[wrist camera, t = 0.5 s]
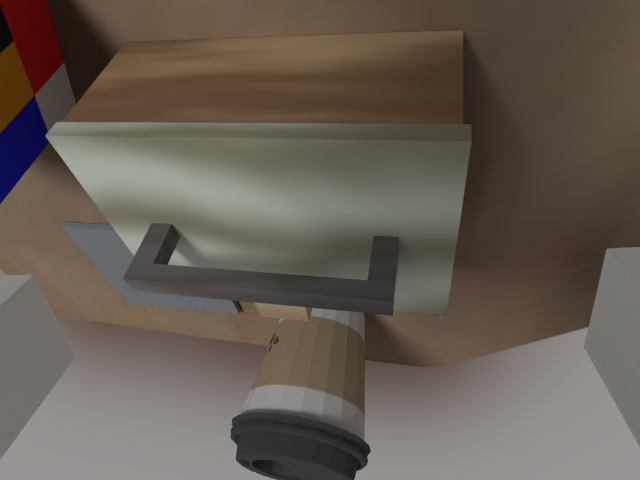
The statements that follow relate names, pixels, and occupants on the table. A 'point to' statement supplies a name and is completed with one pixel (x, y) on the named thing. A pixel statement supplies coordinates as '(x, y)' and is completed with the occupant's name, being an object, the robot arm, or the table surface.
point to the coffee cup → (308, 401)
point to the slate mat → (116, 259)
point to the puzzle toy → (28, 86)
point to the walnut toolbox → (281, 168)
